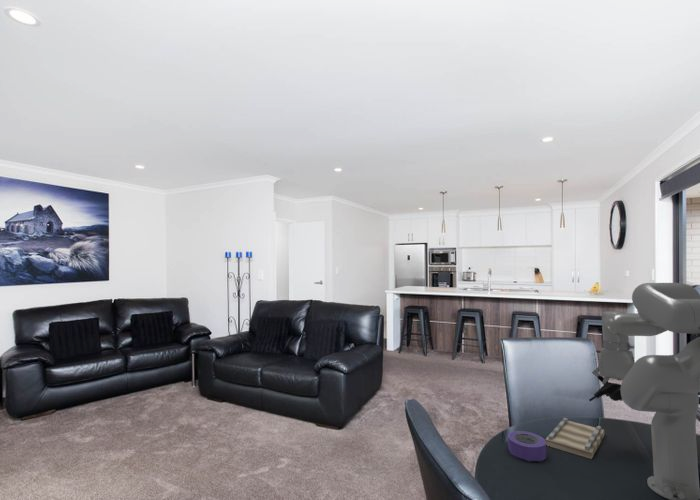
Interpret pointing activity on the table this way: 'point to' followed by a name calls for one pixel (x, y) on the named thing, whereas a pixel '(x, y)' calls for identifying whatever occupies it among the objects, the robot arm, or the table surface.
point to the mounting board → (576, 438)
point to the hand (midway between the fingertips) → (618, 397)
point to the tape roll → (527, 445)
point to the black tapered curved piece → (609, 391)
